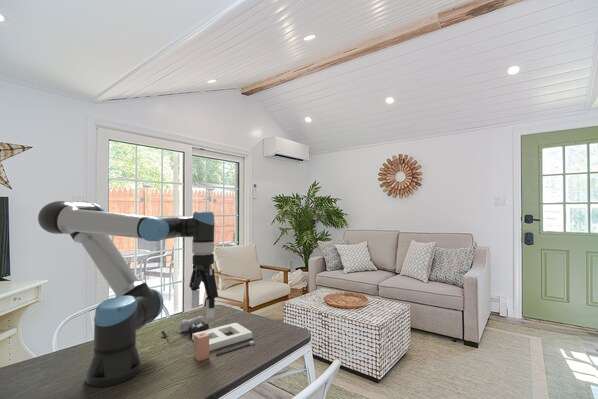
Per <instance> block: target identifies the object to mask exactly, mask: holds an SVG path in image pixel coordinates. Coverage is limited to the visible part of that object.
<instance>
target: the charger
mask: <svg viewBox="0 0 598 399" xmlns="http://www.w3.org/2000/svg"><path fill="white" fill-rule="evenodd" d="M193 358H194V359H195V360H196V361H197V362H201V361H205V360H206V359H209V358H210V351H209V335H208V334H207V333H206V332H202V333H199V334H195V335H194V341H193Z"/></svg>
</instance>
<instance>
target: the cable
mask: <svg viewBox="0 0 598 399" xmlns="http://www.w3.org/2000/svg"><path fill="white" fill-rule="evenodd" d="M255 344H256V343H255V341H254V340H250V341H249V342H247V343H244V344H240V345H238V346H235V347H231V348H228V349H224V350H221V351H219V352H215V356H219V355H223V354H225V353H229V352H231V351H235V350H238V349H241V348H244V347H246V346H247V347H248V346H253V345H255Z"/></svg>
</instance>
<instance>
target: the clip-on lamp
mask: <svg viewBox="0 0 598 399" xmlns="http://www.w3.org/2000/svg"><path fill="white" fill-rule="evenodd" d="M209 329H210V326H209V323H205V319H204V316H202V315H198V316H196V317H193V318H189V319H182V320H181V321H180V324H178V330H179V331H177V330H174V329H171V330H169V331H168V333H166V332H165V330H163V329H161V331H160V332H161V335H162V336H163V338H164V339H166V340H167V339H169V334H170V332H174V333H175V334H176V333H177V334H178V333H186V332H188V334H189V336H190V337H191V338H192V334H193V333H197V332H201V331H205V330H209Z"/></svg>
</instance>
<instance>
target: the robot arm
mask: <svg viewBox="0 0 598 399" xmlns="http://www.w3.org/2000/svg"><path fill="white" fill-rule="evenodd" d="M37 221H38V222H37V223H38V224H39V226H40V228H41V229H43V230H44V231H46V232H47V233H51V234H56V235H57V234H58V235H62V234H64V235H65V234H66V235H70V237H71V239H72V240H73V242H74V243H78V244H82V246H83V248H84V250H85V251H86V253H87V254H88V255H89V257H90V258H91V260H92V261H93V263H94V264H95V266H96V267H97V269H98V271H99V272H100V274H101V275H102V277H103V278H104V280H105V281H106V283H107V284H108V286H109V288H110V289H111V290H112V291H113V293H114V294H115V297H111V298H108V299H106V300H104V301H102V302H101V303H99V304H98V305H97V306H96V308H95V310H94V311H95V312H94V317H93V322H94V327H93V328H94V330H93V332H94V334H93V354H92V357H91V359H90V363H89V365H88V368H87V370H86V373H85V383H86V384H87V385H88V386H91V387H97V388H101V387H103V388H104V387H109V386H111V387H112V386H114V385H119V384H121V383H124V382H127V381H129V380H130V379H132V378H134V377H135V376H137V375H138V374H139V373H140V371H141V369H142V360H141V358H140V357H141V356H140V355H139V352H138V349H137V344H136V343H137V341H136V340H137V338H136V337H137V331H138V330H140V329H141V328H143V327H145V326H146V325H148V324H150V323H152V322H153V321H154V320H155V319H156V318H159V316H160V315H161V313H162V311H163V308H164V297H163V295H162V294H161V292H160V291H158V290H157V289H153V288H150V287H149V286H148V285H149V284H148V283H146V281H140V280H139V279H138V277H137V276H136V275H135V273H134V271H133V270H132V269H131V267H130V265H129V264H128V262H127V261H126V260H125V258H124V256H123V255H122V254H121V252H120V250H119V249H118V248H117V246H116V244H115V243H114V241H113V240H112V239H111V237H110V236H114V237H125V238H135V239H143V240H145V241H147V242H159V241H164V240H167V239H174V238H192V250H191V252H192V253H193V255H192V260H191V261H192V272H191V276H190V280H189V288H190V290H191V309H196V308H200V290H201V289H200V288H201V287H200V286H201V283H202V284H203V285H204V290H205V294H206V298H205V300H206V303H205V304H206V306H205V310H206V311H205V318H206V319H211V318H215V313H216V311H215V304H216V303H215V302H216V300H215V299H216V298H218V297H219V293H218V288H217V282H216V277H215V269H214V268H211V267H210V266H211V265H213V264H214V263H215V254H214V252H215V246H216V244H215V225H216V224H215V214H214V212H213V211H194V212H193V214H192V216H173V215H172V216H164V217H162V216H161V217H160V216H151V215H150V216H149V215H140V214H138V215H137V214H129V213H128V214H127V213H121V212H111V211H110V212H109V211H108V212H107V211H105V209H103V207H102V206H101V205H99V204H97V203H94V202H89V201H67V200H65V201H64V200H57V201H52V202H50V203H48V204H46V205H44V206H43V207H42V208H41V209H40V210H39V212H38V215H37Z"/></svg>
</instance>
